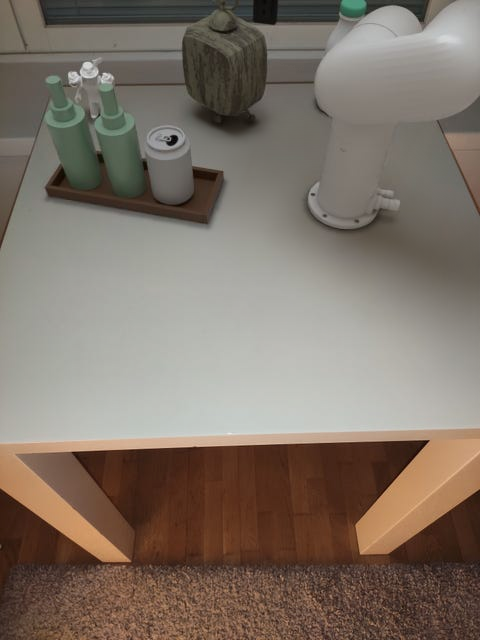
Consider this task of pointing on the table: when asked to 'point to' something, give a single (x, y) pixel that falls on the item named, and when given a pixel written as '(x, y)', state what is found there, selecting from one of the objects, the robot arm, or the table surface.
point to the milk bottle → (346, 21)
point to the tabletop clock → (225, 62)
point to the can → (169, 164)
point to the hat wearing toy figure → (90, 84)
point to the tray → (145, 194)
